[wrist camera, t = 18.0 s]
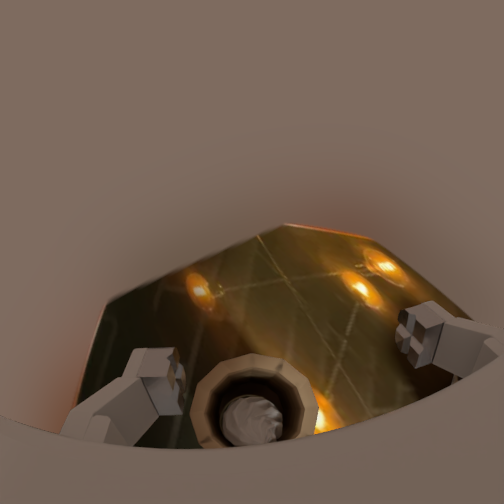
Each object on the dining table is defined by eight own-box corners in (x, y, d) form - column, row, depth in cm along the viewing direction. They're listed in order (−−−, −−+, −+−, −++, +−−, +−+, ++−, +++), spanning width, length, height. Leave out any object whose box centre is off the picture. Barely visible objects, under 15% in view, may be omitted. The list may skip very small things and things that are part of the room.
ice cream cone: (272, 409, 28) (317, 445, 14) (237, 434, 26) (255, 490, 12) (245, 376, 29) (270, 392, 15) (209, 402, 27) (203, 439, 14)
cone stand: (254, 471, 24) (260, 506, 13) (184, 411, 28) (148, 410, 17) (316, 405, 29) (357, 400, 18) (247, 349, 32) (249, 314, 21)
